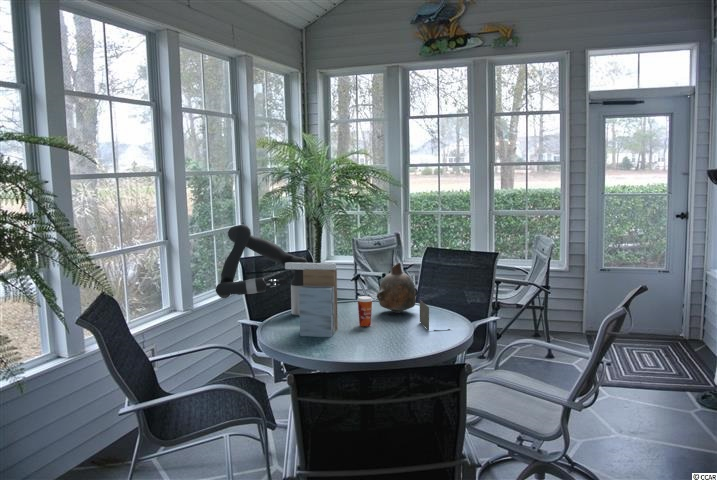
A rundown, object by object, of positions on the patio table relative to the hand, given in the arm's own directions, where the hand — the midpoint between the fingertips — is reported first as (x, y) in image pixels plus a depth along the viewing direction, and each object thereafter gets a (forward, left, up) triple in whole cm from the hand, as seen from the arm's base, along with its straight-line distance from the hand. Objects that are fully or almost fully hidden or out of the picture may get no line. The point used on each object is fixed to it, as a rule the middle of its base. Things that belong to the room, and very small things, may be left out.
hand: (286, 281), depth 298 cm
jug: (-41, +53, -25) cm, 72 cm away
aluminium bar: (+2, +13, +7) cm, 15 cm away
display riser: (+6, +18, -25) cm, 32 cm away
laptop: (-15, +76, -26) cm, 82 cm away
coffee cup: (-12, +39, -25) cm, 48 cm away
